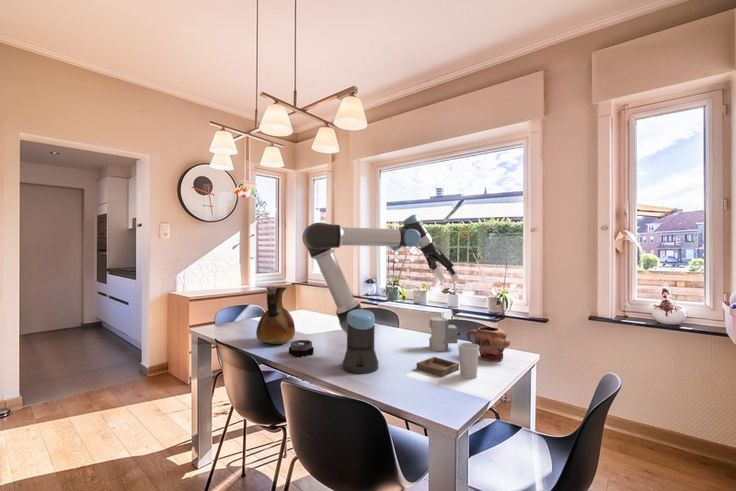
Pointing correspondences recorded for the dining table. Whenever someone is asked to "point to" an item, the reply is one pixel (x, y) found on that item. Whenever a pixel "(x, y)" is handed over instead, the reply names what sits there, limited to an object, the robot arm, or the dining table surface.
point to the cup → (468, 360)
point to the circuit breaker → (441, 334)
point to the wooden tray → (437, 366)
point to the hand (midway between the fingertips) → (449, 279)
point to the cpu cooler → (301, 348)
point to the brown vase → (275, 319)
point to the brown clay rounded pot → (490, 342)
